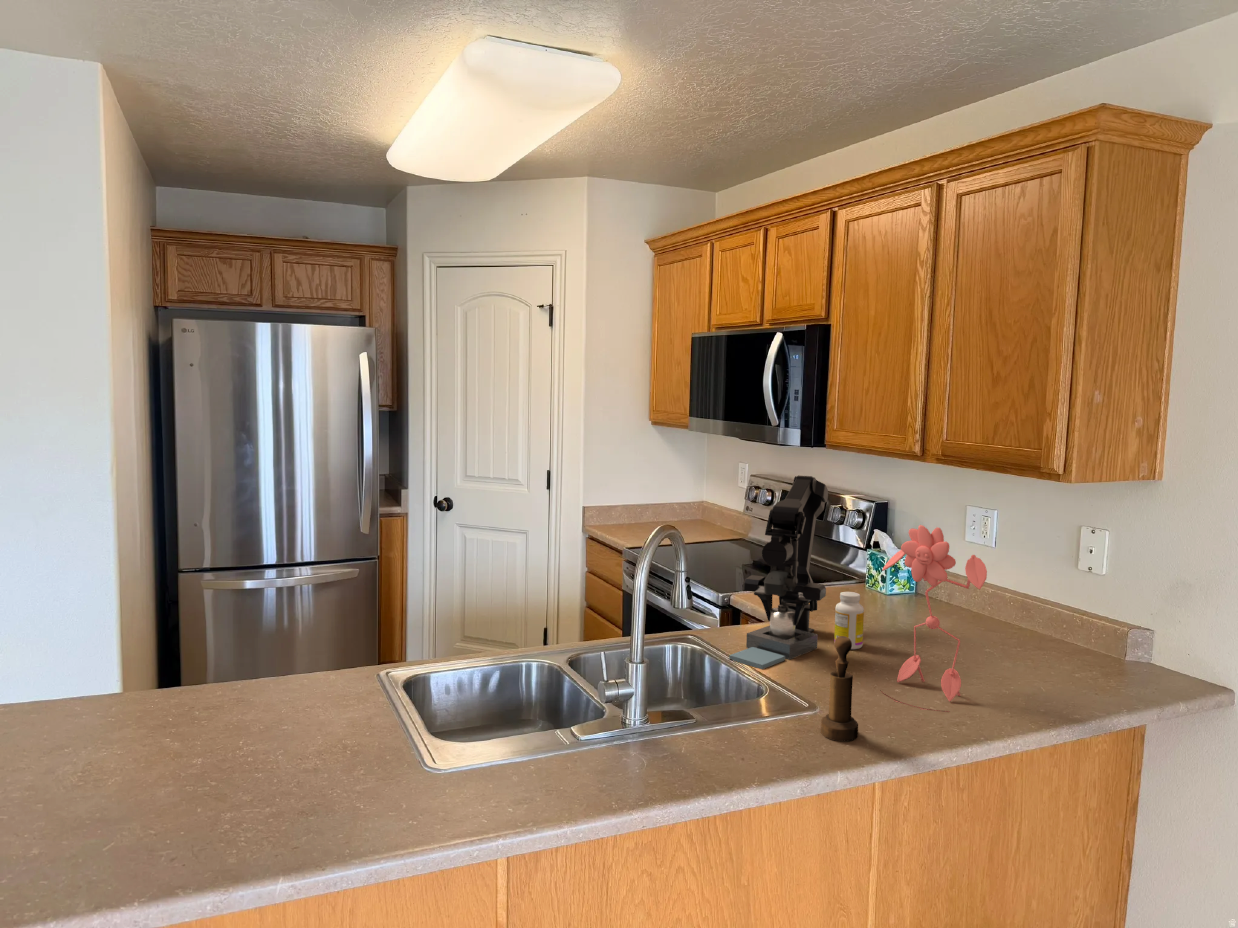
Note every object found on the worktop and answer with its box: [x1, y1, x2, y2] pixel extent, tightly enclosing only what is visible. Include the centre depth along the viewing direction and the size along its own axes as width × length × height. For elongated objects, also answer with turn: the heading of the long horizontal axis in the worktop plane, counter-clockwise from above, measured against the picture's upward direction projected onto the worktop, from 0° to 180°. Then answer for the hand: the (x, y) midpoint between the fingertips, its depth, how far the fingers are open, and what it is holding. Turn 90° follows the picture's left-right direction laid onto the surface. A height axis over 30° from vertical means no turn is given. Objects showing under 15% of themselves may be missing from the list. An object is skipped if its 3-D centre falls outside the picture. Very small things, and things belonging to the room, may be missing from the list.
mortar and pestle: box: [820, 636, 859, 742], centre depth 151 cm, size 7×6×18 cm
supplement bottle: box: [833, 591, 865, 650], centre depth 202 cm, size 7×7×13 cm
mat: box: [728, 647, 786, 670], centre depth 191 cm, size 9×9×1 cm
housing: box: [745, 625, 819, 660], centre depth 200 cm, size 12×12×4 cm
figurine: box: [880, 524, 988, 713], centre depth 170 cm, size 15×26×35 cm, turn 30°
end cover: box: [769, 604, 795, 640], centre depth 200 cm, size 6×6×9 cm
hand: (782, 622), depth 200 cm, fingers closed on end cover, 6 cm apart
